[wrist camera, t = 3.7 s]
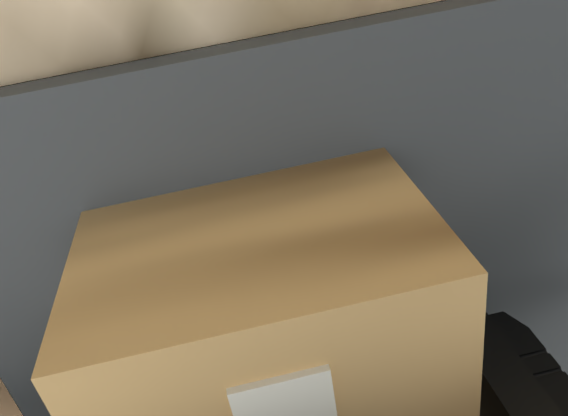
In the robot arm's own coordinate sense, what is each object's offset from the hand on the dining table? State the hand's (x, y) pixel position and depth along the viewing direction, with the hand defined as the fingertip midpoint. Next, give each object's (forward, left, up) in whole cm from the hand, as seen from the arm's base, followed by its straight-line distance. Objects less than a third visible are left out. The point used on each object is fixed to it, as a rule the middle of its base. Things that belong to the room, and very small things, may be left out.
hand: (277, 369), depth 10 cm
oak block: (0, 0, 0) cm, 0 cm away
